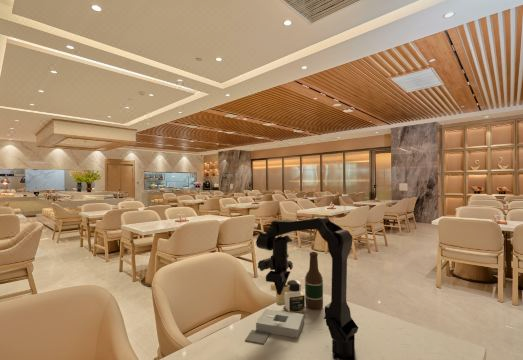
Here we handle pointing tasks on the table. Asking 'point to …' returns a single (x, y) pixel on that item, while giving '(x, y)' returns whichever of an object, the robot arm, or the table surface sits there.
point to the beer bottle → (313, 285)
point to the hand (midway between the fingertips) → (280, 292)
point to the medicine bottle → (294, 297)
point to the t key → (280, 298)
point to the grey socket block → (280, 323)
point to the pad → (257, 337)
